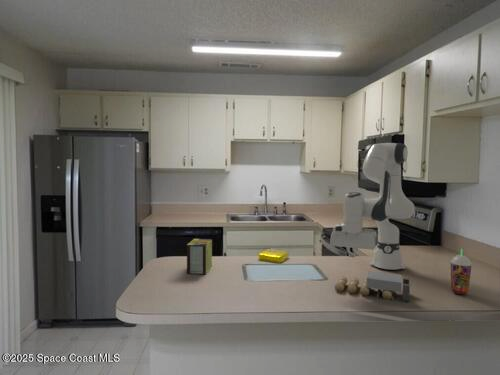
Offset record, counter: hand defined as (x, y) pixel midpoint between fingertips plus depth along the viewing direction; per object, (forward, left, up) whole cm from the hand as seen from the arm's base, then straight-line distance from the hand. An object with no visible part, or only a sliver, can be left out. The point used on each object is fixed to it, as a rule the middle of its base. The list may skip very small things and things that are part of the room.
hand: (352, 256), depth 165 cm
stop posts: (+2, +23, -15) cm, 28 cm away
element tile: (-33, -50, -16) cm, 62 cm away
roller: (+2, +15, -15) cm, 21 cm away
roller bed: (+2, +1, -15) cm, 15 cm away
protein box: (+6, -79, -15) cm, 81 cm away
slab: (+2, +14, -11) cm, 18 cm away
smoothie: (-16, +46, -15) cm, 51 cm away
